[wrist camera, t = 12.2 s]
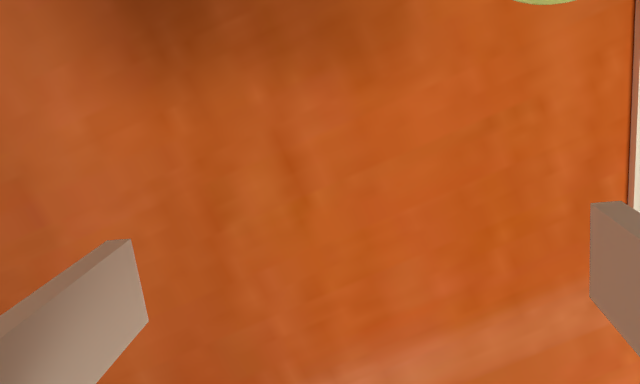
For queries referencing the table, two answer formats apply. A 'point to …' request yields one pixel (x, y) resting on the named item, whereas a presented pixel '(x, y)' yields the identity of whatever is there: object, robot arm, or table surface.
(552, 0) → the plant pot
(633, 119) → the tray
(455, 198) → the table surface
